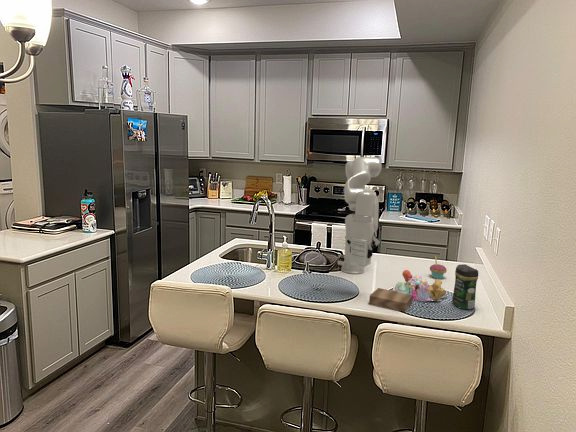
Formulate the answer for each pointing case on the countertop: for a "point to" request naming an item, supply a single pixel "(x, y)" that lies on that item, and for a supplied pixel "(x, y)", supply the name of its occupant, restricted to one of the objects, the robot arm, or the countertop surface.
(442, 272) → the cupcake
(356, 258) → the supplement box
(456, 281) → the coffee jar
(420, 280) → the candy landscape model
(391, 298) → the walnut base
